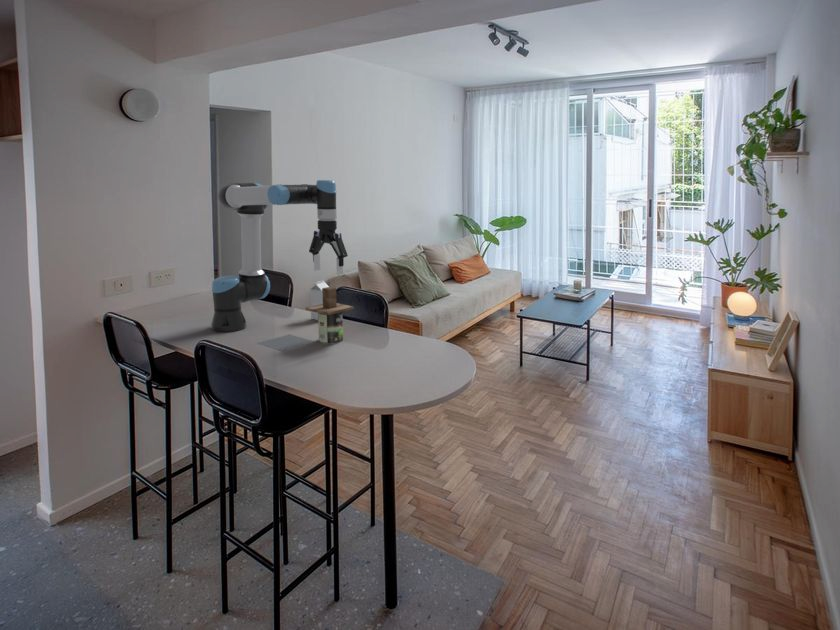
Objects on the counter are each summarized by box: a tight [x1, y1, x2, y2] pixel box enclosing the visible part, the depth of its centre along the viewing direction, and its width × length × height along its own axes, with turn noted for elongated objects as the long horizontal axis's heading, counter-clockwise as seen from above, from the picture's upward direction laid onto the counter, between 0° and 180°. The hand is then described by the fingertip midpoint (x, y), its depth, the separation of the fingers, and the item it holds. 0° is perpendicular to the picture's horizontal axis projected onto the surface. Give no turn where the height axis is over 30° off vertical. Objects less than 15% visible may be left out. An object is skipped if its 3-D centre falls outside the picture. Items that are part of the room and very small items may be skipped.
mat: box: [257, 334, 316, 352], centre depth 227 cm, size 17×17×1 cm
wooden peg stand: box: [305, 286, 355, 315], centre depth 226 cm, size 14×14×9 cm
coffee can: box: [317, 312, 344, 345], centre depth 229 cm, size 10×10×14 cm
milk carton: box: [309, 279, 330, 321], centre depth 265 cm, size 7×7×19 cm
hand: (328, 272), depth 224 cm, fingers open, 13 cm apart
